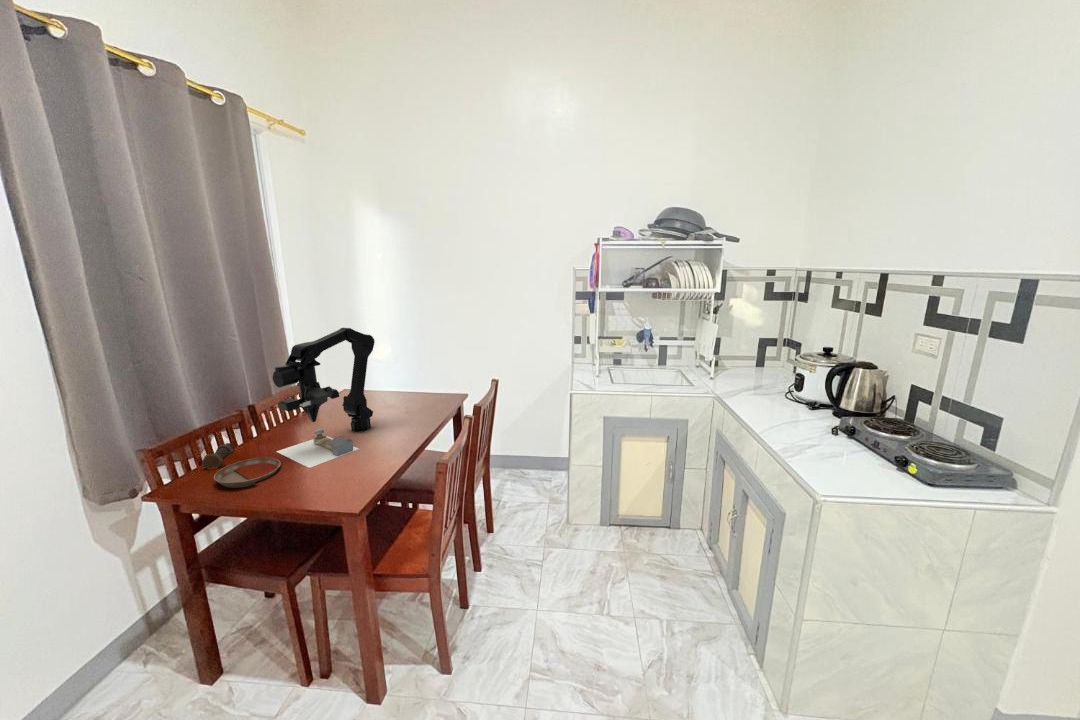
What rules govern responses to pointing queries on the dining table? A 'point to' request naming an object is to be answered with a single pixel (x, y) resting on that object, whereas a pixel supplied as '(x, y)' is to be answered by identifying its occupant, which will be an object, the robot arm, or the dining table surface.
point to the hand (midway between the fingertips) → (313, 421)
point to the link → (321, 439)
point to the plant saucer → (235, 479)
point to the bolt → (217, 456)
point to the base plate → (309, 453)
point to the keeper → (340, 446)
